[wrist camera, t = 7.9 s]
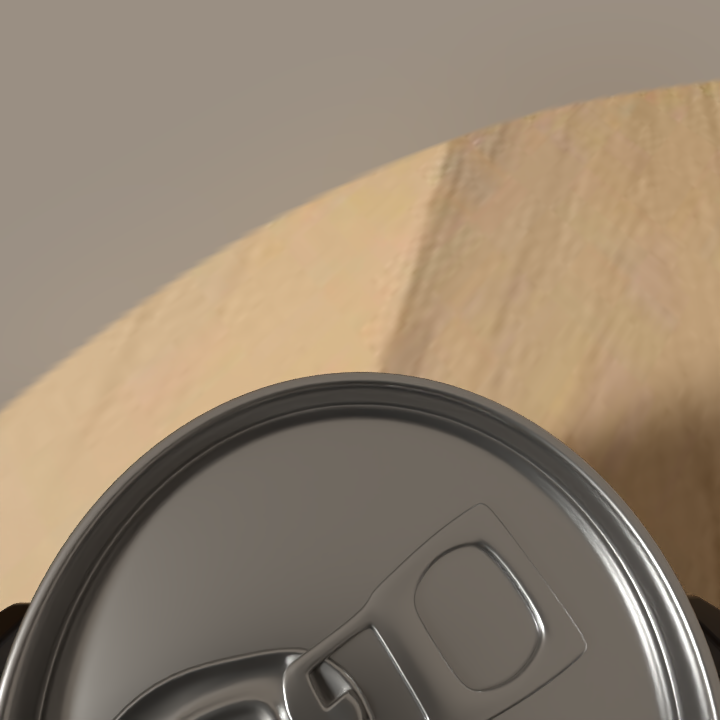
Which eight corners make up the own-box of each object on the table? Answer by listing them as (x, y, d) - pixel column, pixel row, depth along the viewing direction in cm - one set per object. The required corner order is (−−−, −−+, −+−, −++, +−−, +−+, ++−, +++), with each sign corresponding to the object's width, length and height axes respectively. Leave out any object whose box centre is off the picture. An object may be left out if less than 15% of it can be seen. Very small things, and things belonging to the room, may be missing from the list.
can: (178, 615, 15) (-190, 566, 4) (376, 488, 17) (453, 235, 6) (298, 873, 13) (134, 2028, 2) (511, 696, 15) (998, 861, 4)
